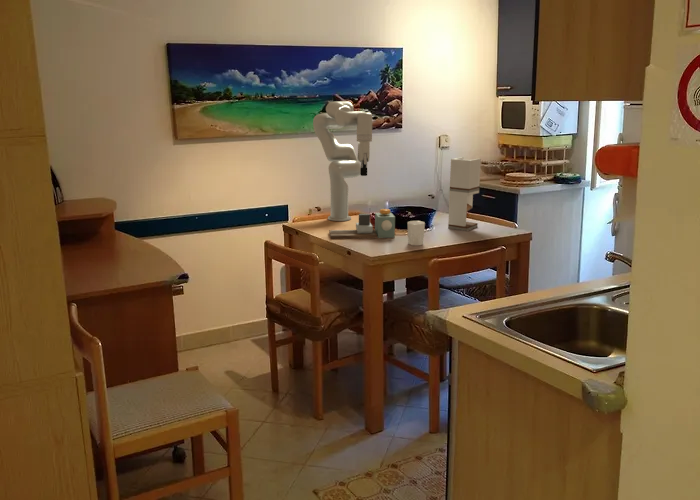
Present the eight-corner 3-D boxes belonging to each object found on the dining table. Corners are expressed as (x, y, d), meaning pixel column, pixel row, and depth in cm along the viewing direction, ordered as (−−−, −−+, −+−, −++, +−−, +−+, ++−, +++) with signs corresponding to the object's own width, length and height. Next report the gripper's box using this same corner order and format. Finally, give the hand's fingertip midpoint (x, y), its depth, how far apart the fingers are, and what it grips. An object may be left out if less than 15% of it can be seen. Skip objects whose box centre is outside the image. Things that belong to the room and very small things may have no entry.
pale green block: (374, 232, 325) (375, 212, 323) (390, 232, 326) (391, 212, 323) (378, 238, 314) (378, 217, 312) (394, 237, 315) (395, 217, 312)
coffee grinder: (466, 230, 330) (470, 160, 322) (448, 228, 337) (450, 159, 328) (477, 227, 339) (480, 158, 331) (458, 224, 345) (461, 157, 337)
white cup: (410, 246, 298) (411, 224, 296) (404, 242, 306) (405, 221, 303) (426, 245, 300) (427, 223, 298) (420, 241, 308) (421, 220, 305)
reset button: (379, 212, 320) (379, 209, 319) (389, 212, 320) (389, 208, 320) (380, 214, 315) (380, 211, 315) (390, 214, 315) (391, 210, 315)
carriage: (355, 230, 323) (356, 212, 321) (370, 229, 323) (370, 212, 321) (357, 234, 314) (358, 216, 312) (372, 233, 315) (372, 216, 313)
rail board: (329, 233, 323) (329, 228, 323) (373, 232, 326) (373, 227, 325) (330, 238, 312) (330, 233, 311) (377, 238, 314) (377, 232, 313)
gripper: (355, 136, 331) (354, 173, 335) (358, 139, 316) (357, 177, 321) (369, 136, 331) (369, 173, 336) (373, 139, 317) (373, 177, 321)
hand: (363, 175), depth 328 cm, fingers closed
